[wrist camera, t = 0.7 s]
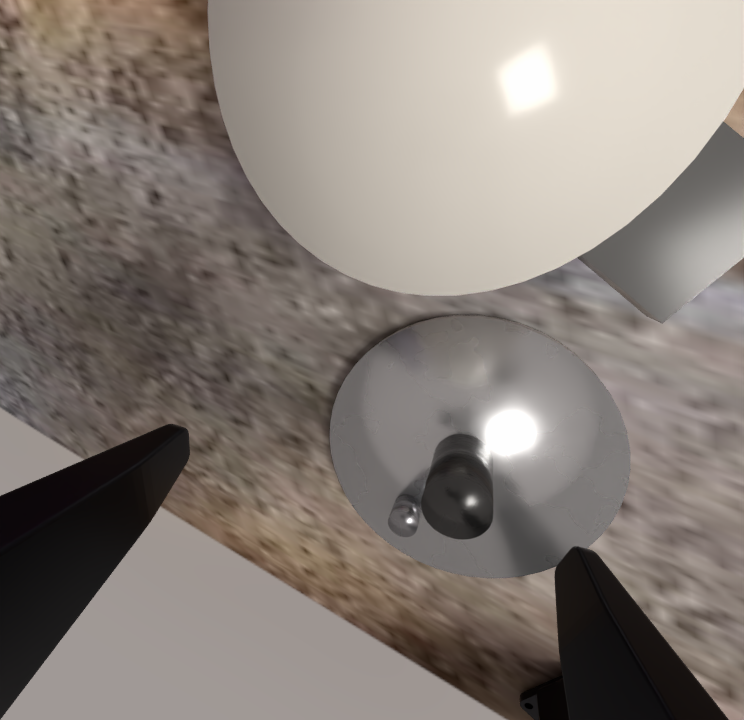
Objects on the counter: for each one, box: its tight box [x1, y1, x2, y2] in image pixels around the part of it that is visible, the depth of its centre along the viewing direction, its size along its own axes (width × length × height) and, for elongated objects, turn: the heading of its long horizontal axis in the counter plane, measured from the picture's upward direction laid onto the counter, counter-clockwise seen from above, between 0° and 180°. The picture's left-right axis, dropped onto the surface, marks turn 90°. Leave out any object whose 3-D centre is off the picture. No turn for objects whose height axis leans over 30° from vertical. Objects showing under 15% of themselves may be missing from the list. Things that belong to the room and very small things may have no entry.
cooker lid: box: [330, 315, 630, 578], centre depth 18 cm, size 15×15×5 cm
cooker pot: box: [208, 0, 744, 323], centre depth 13 cm, size 19×14×7 cm
